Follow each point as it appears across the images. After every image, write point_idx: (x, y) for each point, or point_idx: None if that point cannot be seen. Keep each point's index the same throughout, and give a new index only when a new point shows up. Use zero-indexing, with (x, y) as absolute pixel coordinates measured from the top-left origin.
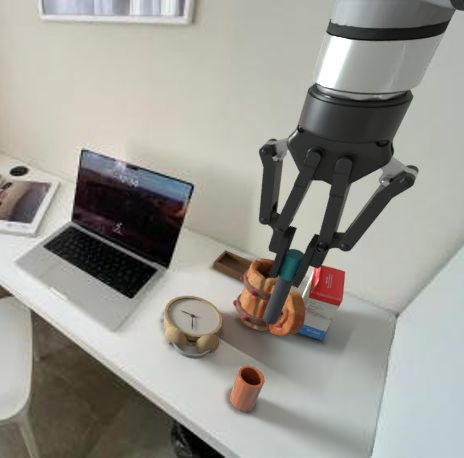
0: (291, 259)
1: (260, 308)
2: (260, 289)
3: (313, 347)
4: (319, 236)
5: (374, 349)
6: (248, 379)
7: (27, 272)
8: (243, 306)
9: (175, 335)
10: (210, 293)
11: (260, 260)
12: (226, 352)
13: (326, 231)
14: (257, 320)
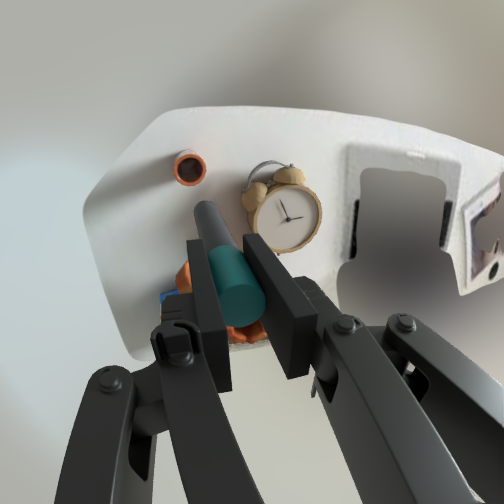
0: (240, 281)
1: None
2: None
3: (161, 281)
4: (210, 382)
5: (122, 316)
6: (192, 177)
7: (448, 160)
8: None
9: (292, 174)
10: None
11: (265, 333)
12: (230, 208)
13: (197, 415)
14: None
